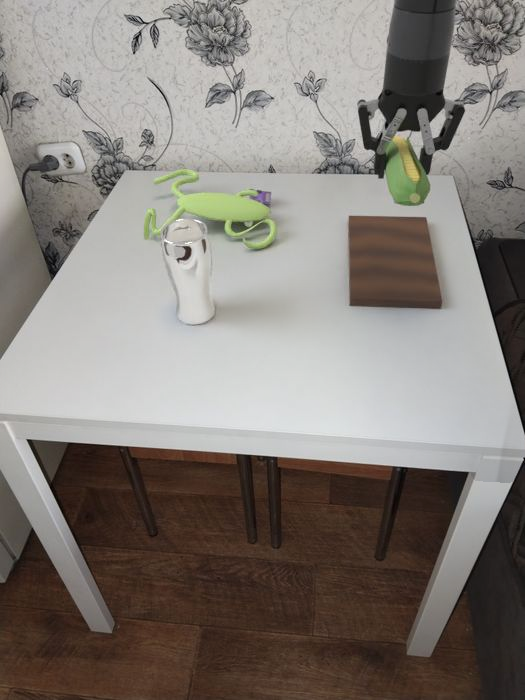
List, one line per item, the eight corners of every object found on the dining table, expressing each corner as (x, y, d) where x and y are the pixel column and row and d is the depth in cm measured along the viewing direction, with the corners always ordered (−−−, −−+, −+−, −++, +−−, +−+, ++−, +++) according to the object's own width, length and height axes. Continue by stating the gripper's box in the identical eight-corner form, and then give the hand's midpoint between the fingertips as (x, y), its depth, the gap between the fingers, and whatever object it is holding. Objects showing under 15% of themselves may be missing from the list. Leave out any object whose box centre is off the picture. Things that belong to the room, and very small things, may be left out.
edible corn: (392, 217, 76) (396, 184, 73) (372, 147, 91) (375, 117, 87) (432, 216, 76) (438, 183, 73) (406, 146, 90) (410, 116, 87)
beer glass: (216, 326, 90) (206, 244, 80) (171, 327, 90) (155, 245, 80) (219, 297, 95) (210, 216, 84) (176, 298, 95) (162, 217, 85)
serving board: (440, 308, 91) (442, 301, 90) (349, 305, 92) (350, 298, 91) (425, 224, 108) (426, 216, 107) (348, 222, 109) (348, 215, 108)
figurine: (165, 188, 121) (161, 163, 117) (292, 200, 116) (292, 174, 112) (129, 238, 108) (123, 211, 104) (270, 254, 103) (269, 227, 99)
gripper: (360, 58, 69) (350, 189, 81) (485, 56, 68) (456, 190, 80) (357, 37, 74) (348, 163, 86) (473, 36, 73) (448, 163, 85)
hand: (400, 175), depth 83 cm, fingers closed on edible corn, 5 cm apart
